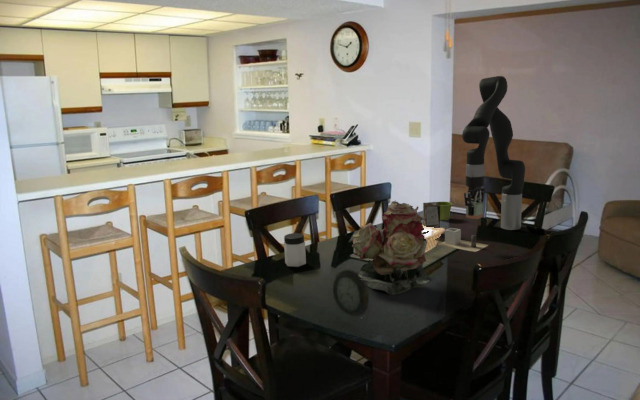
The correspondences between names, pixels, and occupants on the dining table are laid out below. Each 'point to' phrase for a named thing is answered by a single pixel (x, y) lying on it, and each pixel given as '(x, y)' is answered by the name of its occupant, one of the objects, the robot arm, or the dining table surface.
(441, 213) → the plant pot
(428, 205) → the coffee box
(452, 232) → the grey sleeve
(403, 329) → the dining table surface
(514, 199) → the robot arm
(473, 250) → the pin board
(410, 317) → the dining table surface
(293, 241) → the jar
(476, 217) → the sage sleeve
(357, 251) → the rose bouquet
